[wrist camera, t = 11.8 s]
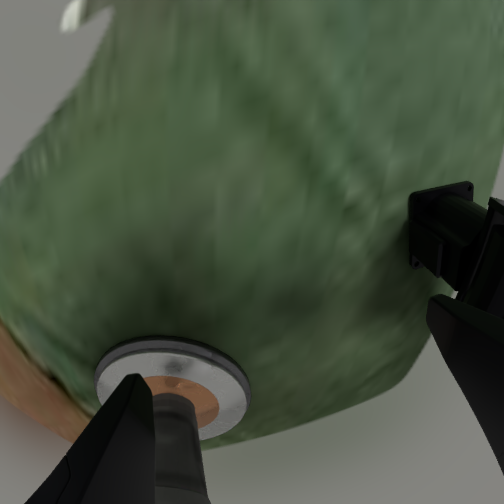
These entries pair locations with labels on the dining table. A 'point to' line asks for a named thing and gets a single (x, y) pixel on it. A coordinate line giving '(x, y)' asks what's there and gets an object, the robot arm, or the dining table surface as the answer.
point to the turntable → (183, 384)
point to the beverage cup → (177, 452)
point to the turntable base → (175, 344)
